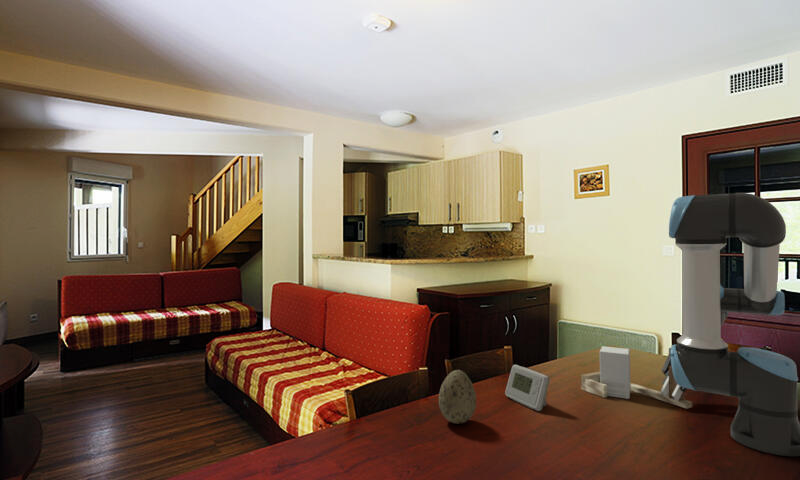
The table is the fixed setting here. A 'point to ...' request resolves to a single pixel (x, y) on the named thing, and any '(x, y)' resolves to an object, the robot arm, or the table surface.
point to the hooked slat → (633, 389)
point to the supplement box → (615, 371)
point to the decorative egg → (457, 397)
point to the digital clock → (527, 387)
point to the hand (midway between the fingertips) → (668, 396)
